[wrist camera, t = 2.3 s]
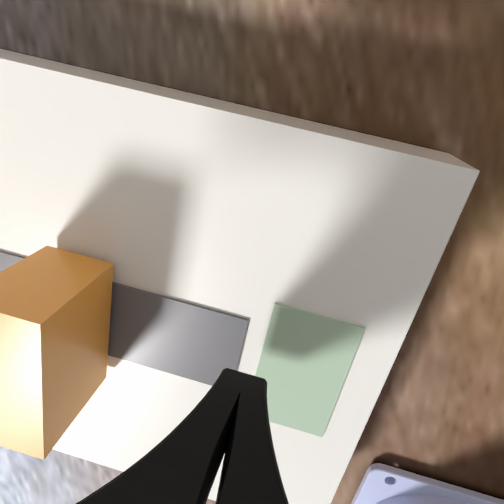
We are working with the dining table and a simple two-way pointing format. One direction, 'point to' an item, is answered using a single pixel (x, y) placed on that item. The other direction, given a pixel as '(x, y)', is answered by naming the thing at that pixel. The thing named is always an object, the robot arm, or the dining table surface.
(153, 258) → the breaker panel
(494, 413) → the dining table surface
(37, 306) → the handle
